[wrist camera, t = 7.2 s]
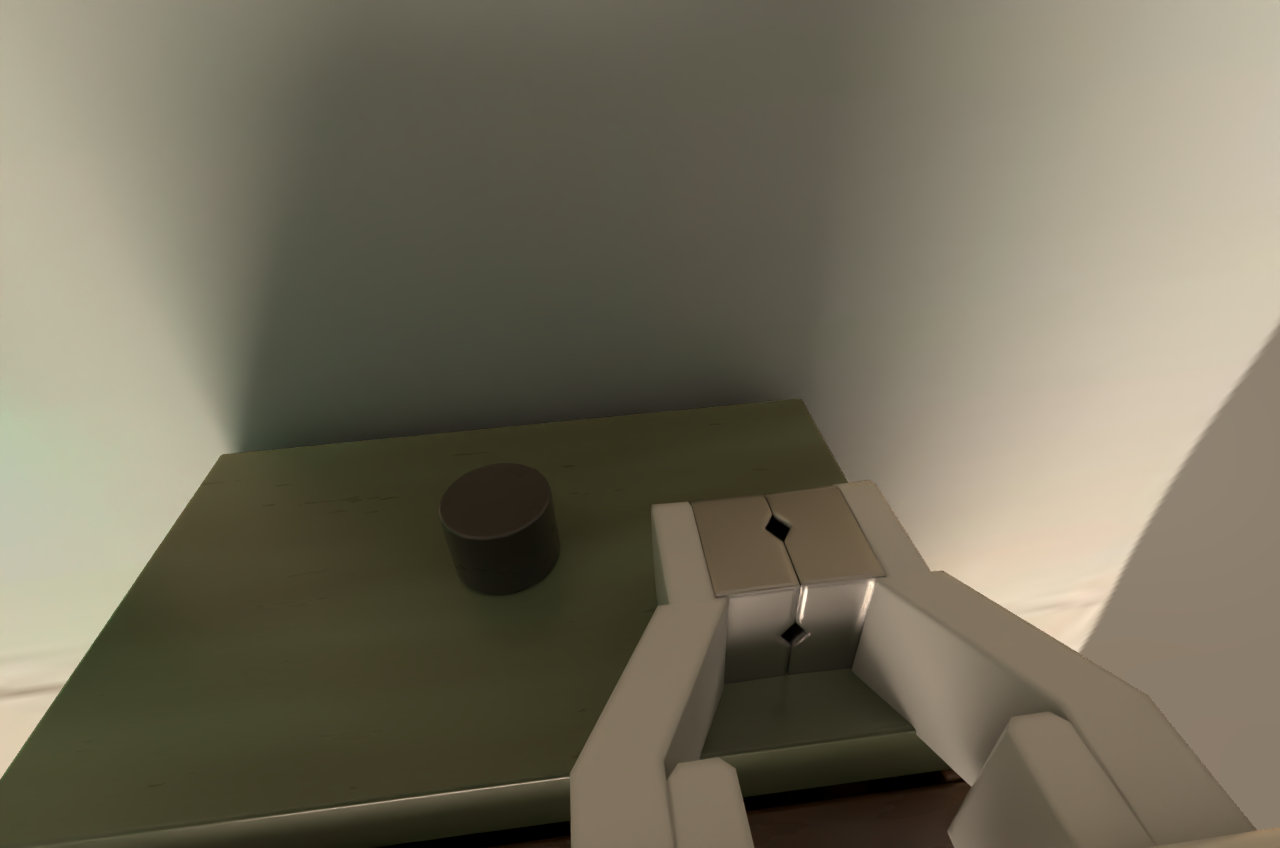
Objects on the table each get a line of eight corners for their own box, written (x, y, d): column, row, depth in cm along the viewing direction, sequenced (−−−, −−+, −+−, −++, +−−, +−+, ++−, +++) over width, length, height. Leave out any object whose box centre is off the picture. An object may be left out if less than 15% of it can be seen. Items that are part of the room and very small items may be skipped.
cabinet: (234, 473, 13) (-104, 1008, 7) (809, 416, 14) (1047, 843, 7) (410, 786, 22) (345, 1158, 15) (762, 740, 23) (850, 1075, 16)
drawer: (191, 401, 11) (-145, 807, 6) (808, 344, 12) (1016, 661, 7) (406, 780, 20) (350, 1084, 15) (756, 735, 21) (827, 1009, 15)
